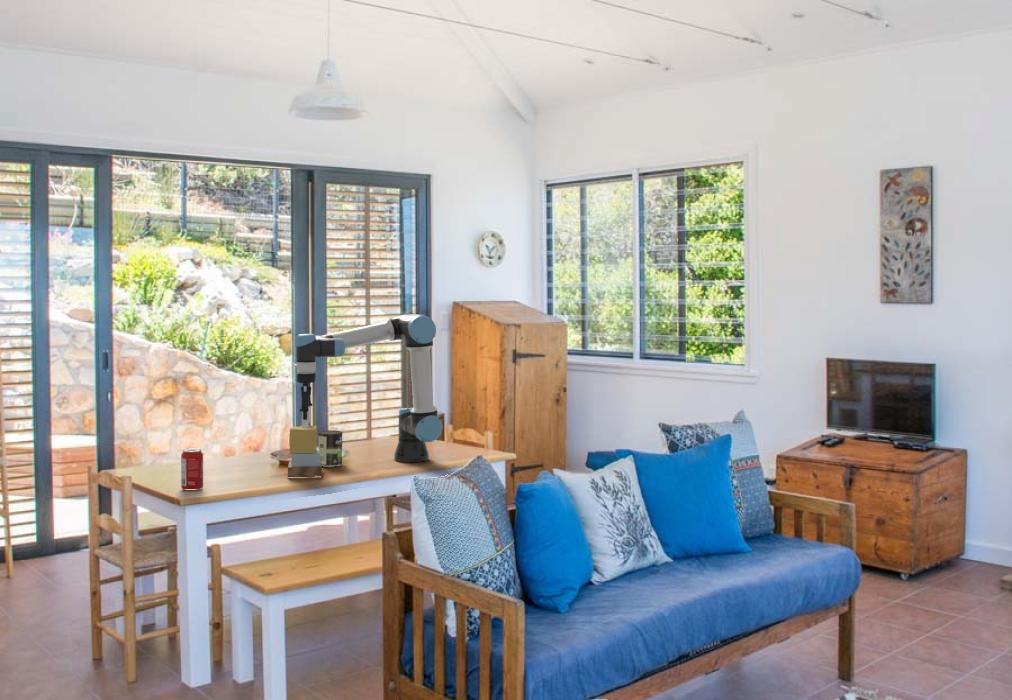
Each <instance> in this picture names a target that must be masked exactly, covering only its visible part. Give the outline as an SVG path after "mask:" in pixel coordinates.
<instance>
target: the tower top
mask: <svg viewBox="0 0 1012 700" xmlns="http://www.w3.org/2000/svg"><path fill="white" fill-rule="evenodd" d="M290 457H291V460H290V461H291V465H292V467H299V466H320V452H319V449H318V448H317V449H316V452H315V453H297V454H291V456H290Z"/></svg>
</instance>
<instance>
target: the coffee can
mask: <svg viewBox="0 0 1012 700" xmlns="http://www.w3.org/2000/svg"><path fill="white" fill-rule="evenodd" d="M343 433H344V432H343V431H342V430H332V429H331V430H330V429H329V430H327V429H326V430H321V431H320V430H319V431H317V449H319V452H320V460H321V461H322V466H323V467H322V468H334V467H335V466H337V467H341V466H342V465H343ZM335 468H336V467H335Z"/></svg>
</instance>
